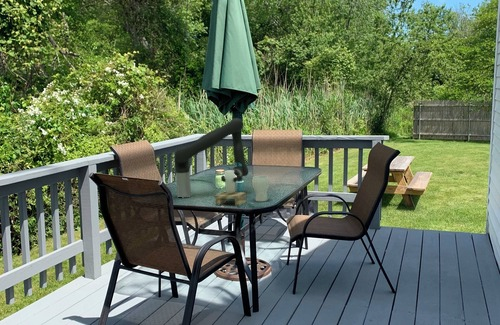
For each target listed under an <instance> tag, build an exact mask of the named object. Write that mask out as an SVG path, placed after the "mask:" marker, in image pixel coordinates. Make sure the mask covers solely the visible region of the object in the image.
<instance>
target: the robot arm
mask: <svg viewBox="0 0 500 325" xmlns="http://www.w3.org/2000/svg"><path fill="white" fill-rule="evenodd" d="M243 128H244V122H243V120H242V119H240V118H239V117H234V118H232V119H231V120H230V121H228V122H227V123H226V124H224V125H223V126H220V127H218V128H216V129H213V130H212V131H210V132H207V133H205V134H204V135H201V137H199V138H198V139H196V140H195V141H194V142H192V143H191V144H190V145H188V146H185V147H179V148H177V149H176V150H175V152H174V168H175V180H176V190H177V191H176V192H177V198H178V197H189V196H191V197H192V186H191V174H190V172H191V171H190V162H189V160H190V159H191V158H193V157H194V156H196V155H197V154H199V153H202V152H204V151H206V150H207V149H210V148H212V147H214V146H215V145H217V144H218V143H220V142H221V141H222V140H224V139H225V138H226V137H227V138H228V136H230V135H231V138H232V147H233V148H232V150H233V160H234V163H237V164H240V166H234V167H233V168H232V170H234V177H235V178H233V180H234V182H235V183H236V182H240V181H242V180H244V177H247V176H248V175H249V168H248V166H247V163H246V160H245V159H246V158H245V151H244V145H243V139H242V132H243ZM220 178H221V180H220V181H221V182H223V183H225V175H221V177H220ZM189 198H190V197H189Z"/></svg>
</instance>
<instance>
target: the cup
mask: <svg viewBox="0 0 500 325" xmlns="http://www.w3.org/2000/svg"><path fill="white" fill-rule="evenodd" d="M251 182H252V187H253V189H254V192H255V202H266V201H268V194H267V193H268V189H269V186H270V179H269V176H268V175H255V176H253V177H252V181H251Z"/></svg>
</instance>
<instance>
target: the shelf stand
mask: <svg viewBox="0 0 500 325" xmlns="http://www.w3.org/2000/svg"><path fill="white" fill-rule="evenodd" d="M214 199H215V201H214V202H215V205H216V204H221V205H223V204H225V203H227V202H228V199H230V200H231V199H233V200H234V206H235V207H240V206H242V205H244V204H245V203H247V192H244V191H243V192H242V191H241V192H238V191H237V192H236V191H235V192H226V191H222V192H219V193H217V194H216V195H214ZM226 201H227V202H226ZM222 203H223V204H222Z"/></svg>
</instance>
